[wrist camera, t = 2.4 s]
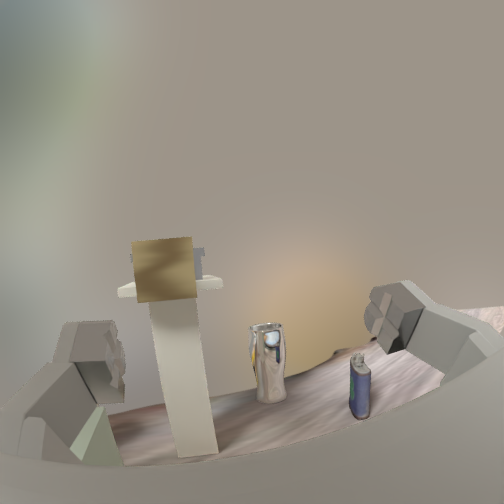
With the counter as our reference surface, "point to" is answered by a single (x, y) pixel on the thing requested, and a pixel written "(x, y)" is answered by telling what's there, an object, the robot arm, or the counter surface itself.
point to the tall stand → (183, 365)
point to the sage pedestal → (97, 442)
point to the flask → (359, 387)
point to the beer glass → (268, 361)
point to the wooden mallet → (164, 269)
